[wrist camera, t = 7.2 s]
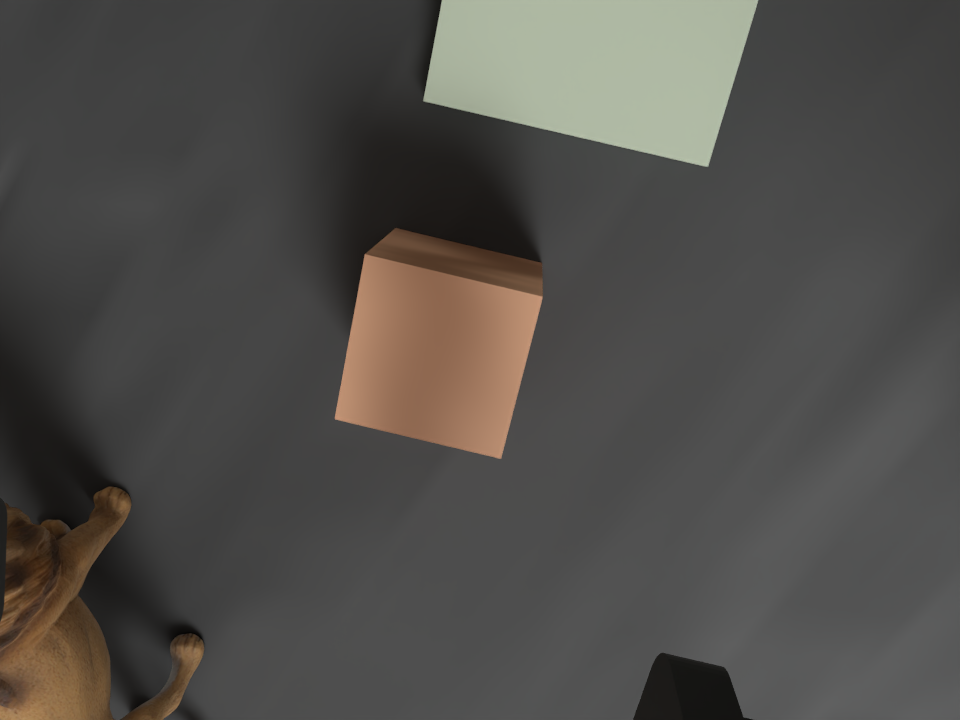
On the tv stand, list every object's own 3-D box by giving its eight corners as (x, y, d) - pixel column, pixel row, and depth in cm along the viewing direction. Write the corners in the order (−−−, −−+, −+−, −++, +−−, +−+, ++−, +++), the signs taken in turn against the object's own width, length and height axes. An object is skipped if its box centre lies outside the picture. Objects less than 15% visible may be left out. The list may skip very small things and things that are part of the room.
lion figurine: (-55, 449, 27) (-328, 606, 19) (71, 390, 26) (-157, 528, 18) (167, 769, 31) (24, 1025, 22) (285, 729, 30) (183, 980, 21)
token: (542, 262, 24) (542, 296, 20) (507, 398, 25) (500, 458, 21) (395, 227, 24) (364, 254, 20) (369, 366, 25) (334, 419, 21)
